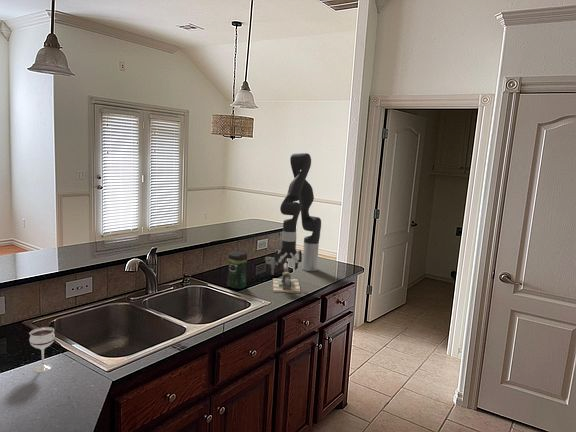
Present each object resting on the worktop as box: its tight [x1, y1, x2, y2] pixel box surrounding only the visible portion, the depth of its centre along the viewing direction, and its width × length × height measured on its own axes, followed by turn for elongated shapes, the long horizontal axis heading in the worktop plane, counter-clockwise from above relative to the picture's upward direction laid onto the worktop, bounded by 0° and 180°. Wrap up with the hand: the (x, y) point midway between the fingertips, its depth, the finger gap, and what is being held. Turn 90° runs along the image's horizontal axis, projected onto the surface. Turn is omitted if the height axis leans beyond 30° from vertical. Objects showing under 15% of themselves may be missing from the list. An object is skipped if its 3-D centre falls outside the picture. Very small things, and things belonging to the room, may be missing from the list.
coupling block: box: [281, 271, 292, 283], centre depth 222 cm, size 4×4×7 cm
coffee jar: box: [226, 250, 248, 290], centre depth 216 cm, size 10×8×19 cm
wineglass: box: [28, 326, 56, 373], centre depth 128 cm, size 7×7×12 cm
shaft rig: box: [272, 262, 301, 294], centre depth 222 cm, size 29×14×9 cm, turn 3°
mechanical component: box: [264, 256, 283, 276], centre depth 242 cm, size 3×10×10 cm, turn 78°
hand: (287, 269), depth 222 cm, fingers open, 8 cm apart
